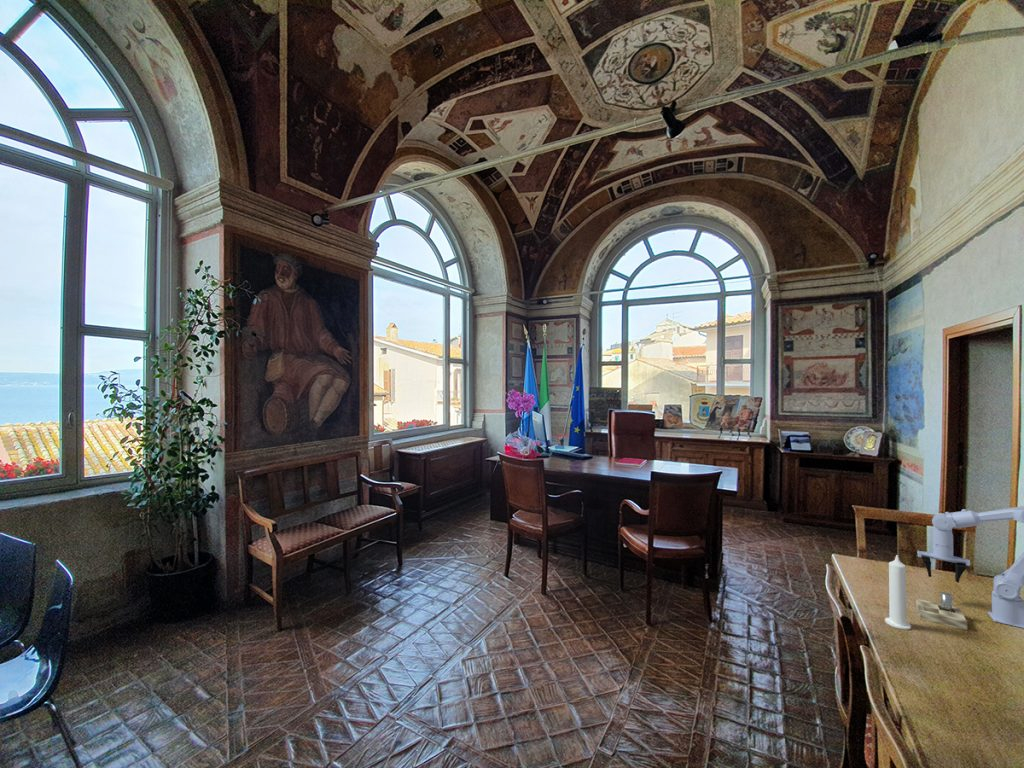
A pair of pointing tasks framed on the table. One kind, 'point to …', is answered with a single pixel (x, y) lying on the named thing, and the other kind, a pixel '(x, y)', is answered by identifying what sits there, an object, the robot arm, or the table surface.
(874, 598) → the table surface
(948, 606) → the pin
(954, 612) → the socket block
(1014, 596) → the robot arm
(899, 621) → the candle
